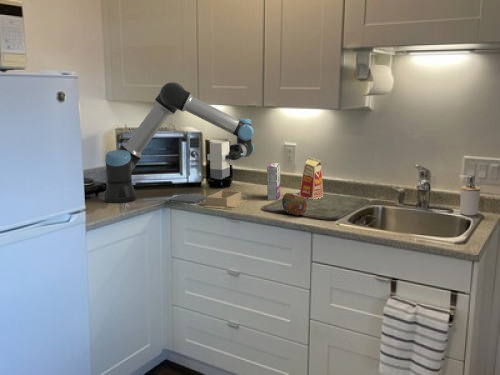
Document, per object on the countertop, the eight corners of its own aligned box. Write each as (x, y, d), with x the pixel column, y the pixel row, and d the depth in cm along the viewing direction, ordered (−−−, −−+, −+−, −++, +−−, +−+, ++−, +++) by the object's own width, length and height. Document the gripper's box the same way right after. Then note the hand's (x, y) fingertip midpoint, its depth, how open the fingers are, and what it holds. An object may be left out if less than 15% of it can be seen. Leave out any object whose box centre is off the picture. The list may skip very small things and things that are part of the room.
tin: (281, 210, 225) (281, 191, 223) (287, 209, 226) (287, 190, 225) (301, 217, 212) (301, 197, 210) (307, 216, 214) (308, 196, 212)
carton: (196, 206, 234) (195, 197, 233) (218, 196, 254) (218, 188, 254) (230, 209, 227) (230, 200, 226) (250, 199, 248) (250, 191, 247)
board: (168, 201, 244) (168, 199, 244) (183, 195, 257) (183, 193, 257) (194, 203, 239) (194, 201, 239) (208, 197, 252) (208, 195, 251)
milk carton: (299, 197, 250) (299, 156, 246) (309, 194, 257) (310, 155, 253) (314, 200, 244) (315, 158, 241) (325, 197, 251) (326, 156, 248)
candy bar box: (270, 195, 256) (270, 162, 253) (280, 195, 255) (280, 163, 252) (266, 200, 245) (266, 166, 242) (277, 200, 244) (277, 166, 241)
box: (210, 177, 237) (209, 142, 234) (218, 174, 244) (217, 141, 241) (222, 178, 235) (221, 143, 232) (229, 175, 242) (229, 141, 239)
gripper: (253, 160, 251) (233, 166, 230) (219, 158, 258) (196, 164, 237) (253, 144, 249) (233, 150, 228) (218, 143, 257) (196, 148, 236)
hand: (214, 157), depth 233 cm, fingers closed on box, 6 cm apart
